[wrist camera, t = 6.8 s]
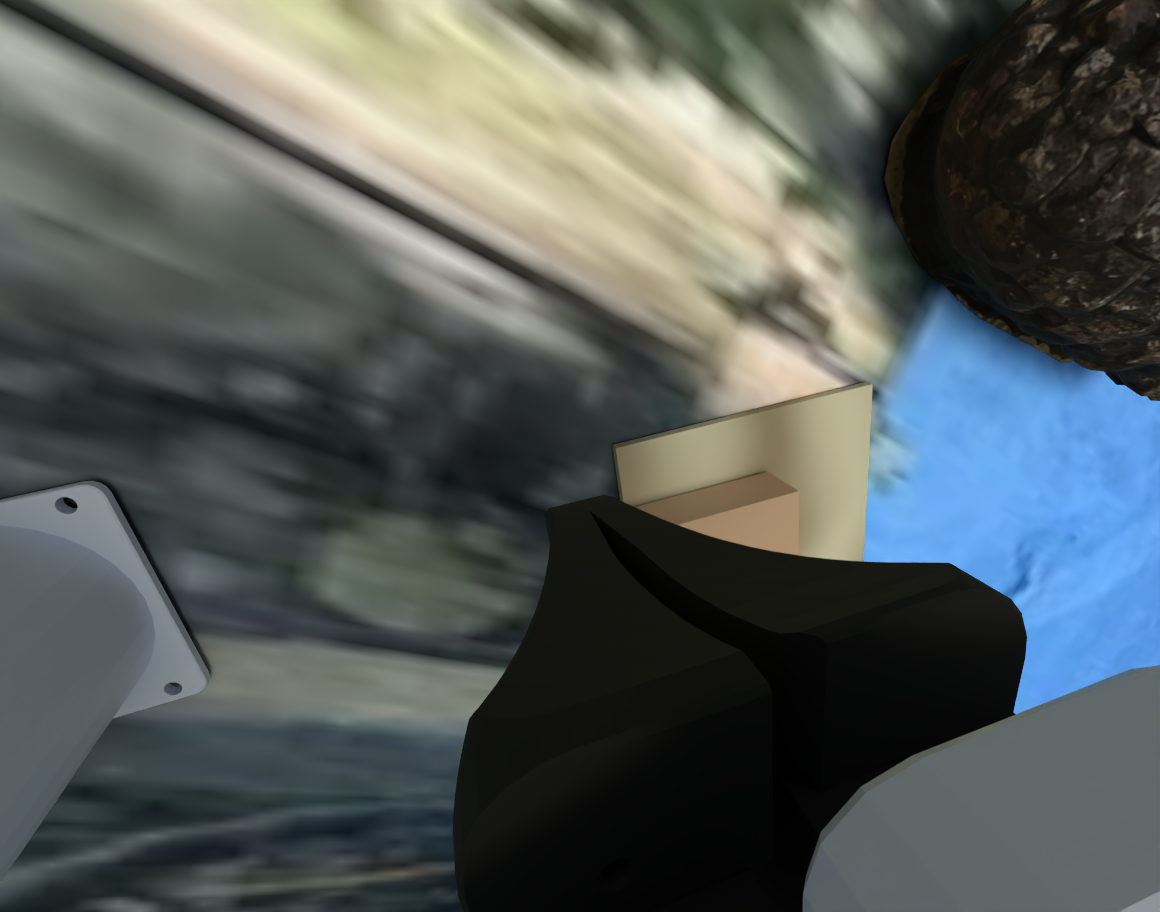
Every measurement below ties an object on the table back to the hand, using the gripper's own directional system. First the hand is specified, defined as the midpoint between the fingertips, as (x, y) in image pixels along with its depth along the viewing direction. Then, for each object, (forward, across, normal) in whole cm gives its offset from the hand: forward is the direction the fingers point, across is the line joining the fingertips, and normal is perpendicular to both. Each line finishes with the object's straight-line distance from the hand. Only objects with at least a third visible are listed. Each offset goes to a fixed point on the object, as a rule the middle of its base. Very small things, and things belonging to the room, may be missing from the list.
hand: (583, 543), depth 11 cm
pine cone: (+9, -22, -4) cm, 24 cm away
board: (+8, -9, +8) cm, 15 cm away
